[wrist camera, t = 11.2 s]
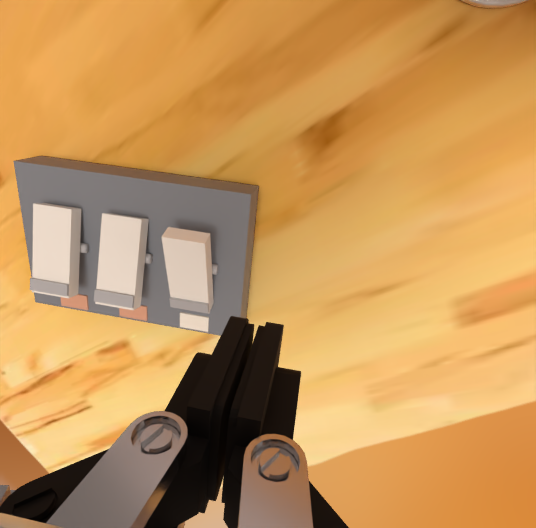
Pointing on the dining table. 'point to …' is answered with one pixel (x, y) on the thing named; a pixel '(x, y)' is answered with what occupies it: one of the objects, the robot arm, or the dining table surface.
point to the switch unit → (160, 218)
